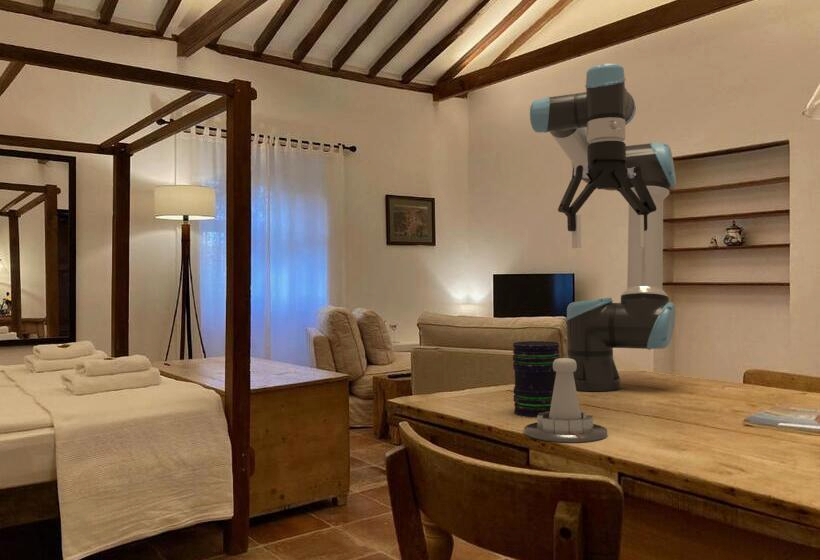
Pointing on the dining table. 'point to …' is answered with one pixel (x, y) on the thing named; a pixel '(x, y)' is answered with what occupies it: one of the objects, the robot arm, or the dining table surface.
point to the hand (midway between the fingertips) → (608, 247)
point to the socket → (565, 429)
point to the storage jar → (534, 376)
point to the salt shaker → (565, 391)
